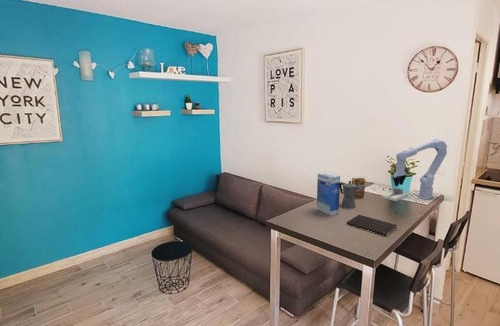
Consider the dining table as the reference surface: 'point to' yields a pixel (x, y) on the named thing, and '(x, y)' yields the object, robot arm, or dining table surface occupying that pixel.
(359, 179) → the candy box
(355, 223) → the black spiral notebook
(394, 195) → the console
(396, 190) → the fader cap
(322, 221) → the dining table surface
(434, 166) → the robot arm
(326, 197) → the string lights box
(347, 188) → the coffeepot
